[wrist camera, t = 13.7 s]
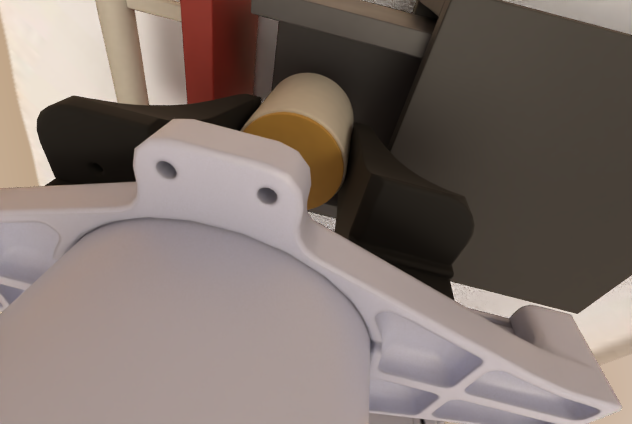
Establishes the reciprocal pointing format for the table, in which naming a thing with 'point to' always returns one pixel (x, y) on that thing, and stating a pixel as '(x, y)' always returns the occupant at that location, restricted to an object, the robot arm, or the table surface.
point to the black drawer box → (527, 146)
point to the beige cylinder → (310, 128)
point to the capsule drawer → (279, 51)
